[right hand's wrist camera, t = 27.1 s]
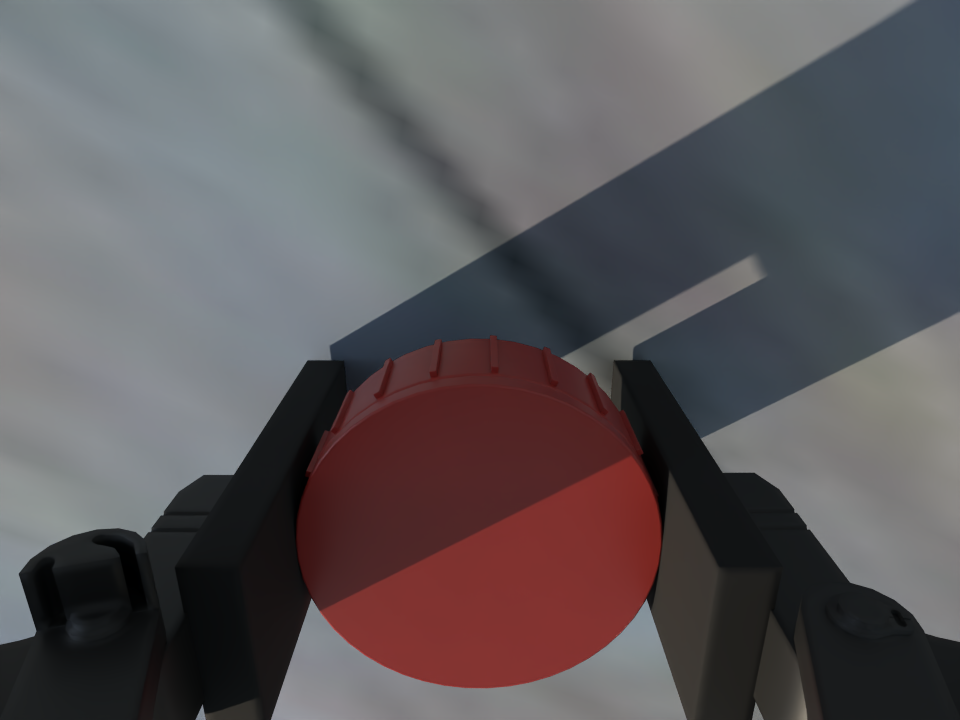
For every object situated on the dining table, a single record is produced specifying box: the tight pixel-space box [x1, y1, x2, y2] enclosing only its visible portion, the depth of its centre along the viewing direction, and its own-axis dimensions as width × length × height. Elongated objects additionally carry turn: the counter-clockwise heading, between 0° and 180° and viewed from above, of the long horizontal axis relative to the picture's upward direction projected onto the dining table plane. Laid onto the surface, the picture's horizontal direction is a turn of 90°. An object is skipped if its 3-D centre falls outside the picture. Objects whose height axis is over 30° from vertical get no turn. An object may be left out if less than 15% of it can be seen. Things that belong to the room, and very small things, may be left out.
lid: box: [295, 335, 663, 688], centre depth 11 cm, size 6×6×2 cm
